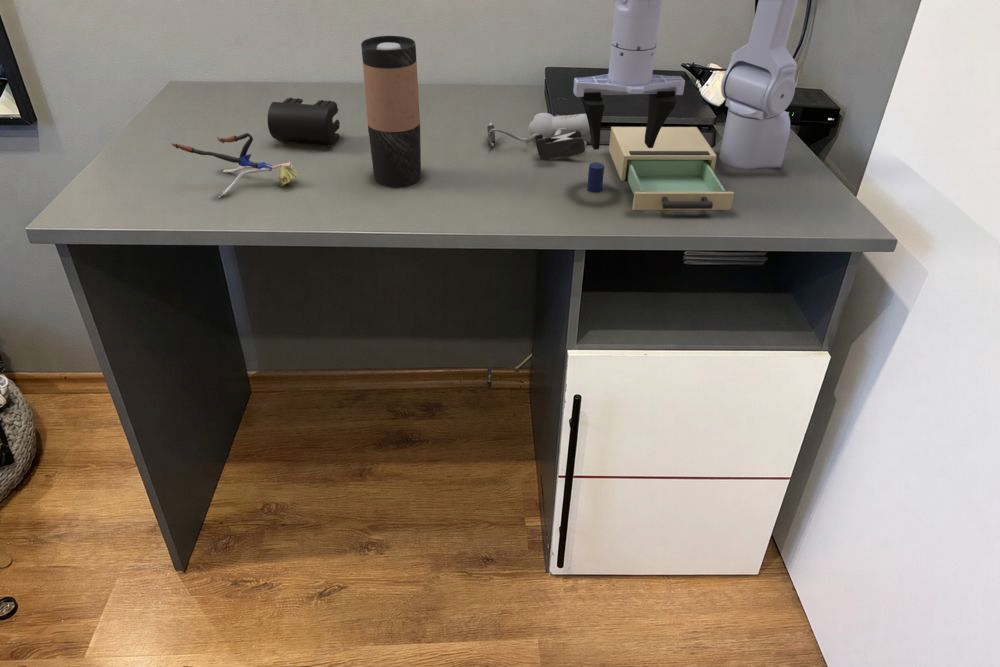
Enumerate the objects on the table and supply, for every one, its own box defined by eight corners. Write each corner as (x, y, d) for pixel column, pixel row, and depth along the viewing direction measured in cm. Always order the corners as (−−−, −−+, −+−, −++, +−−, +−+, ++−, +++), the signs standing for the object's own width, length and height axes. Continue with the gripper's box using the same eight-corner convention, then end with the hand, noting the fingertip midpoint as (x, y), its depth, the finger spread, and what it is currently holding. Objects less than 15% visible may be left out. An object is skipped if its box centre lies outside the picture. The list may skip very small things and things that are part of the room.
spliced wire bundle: (298, 236, 114) (162, 199, 110) (313, 195, 119) (183, 159, 115) (302, 190, 105) (155, 149, 102) (318, 148, 110) (178, 108, 107)
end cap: (271, 148, 124) (264, 108, 120) (287, 132, 130) (281, 93, 126) (329, 153, 123) (324, 112, 119) (343, 137, 128) (339, 97, 124)
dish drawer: (691, 154, 125) (697, 125, 122) (711, 185, 115) (717, 155, 112) (608, 154, 124) (611, 125, 121) (620, 185, 114) (624, 154, 112)
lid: (613, 184, 115) (616, 156, 112) (620, 204, 109) (624, 175, 107) (568, 184, 114) (570, 156, 112) (574, 204, 109) (576, 175, 106)
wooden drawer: (708, 178, 117) (711, 159, 115) (735, 221, 105) (739, 201, 103) (618, 178, 116) (620, 159, 114) (635, 221, 104) (638, 201, 102)
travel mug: (430, 171, 117) (425, 38, 106) (410, 191, 112) (401, 52, 100) (386, 164, 119) (376, 33, 108) (363, 183, 114) (350, 46, 102)
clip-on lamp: (479, 173, 124) (585, 163, 118) (469, 137, 121) (579, 126, 115) (497, 141, 133) (597, 130, 127) (489, 107, 129) (592, 94, 123)
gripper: (584, 54, 92) (576, 158, 100) (698, 52, 94) (681, 155, 102) (573, 38, 98) (566, 139, 106) (681, 37, 100) (666, 136, 108)
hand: (621, 146), depth 104 cm, fingers open, 7 cm apart
